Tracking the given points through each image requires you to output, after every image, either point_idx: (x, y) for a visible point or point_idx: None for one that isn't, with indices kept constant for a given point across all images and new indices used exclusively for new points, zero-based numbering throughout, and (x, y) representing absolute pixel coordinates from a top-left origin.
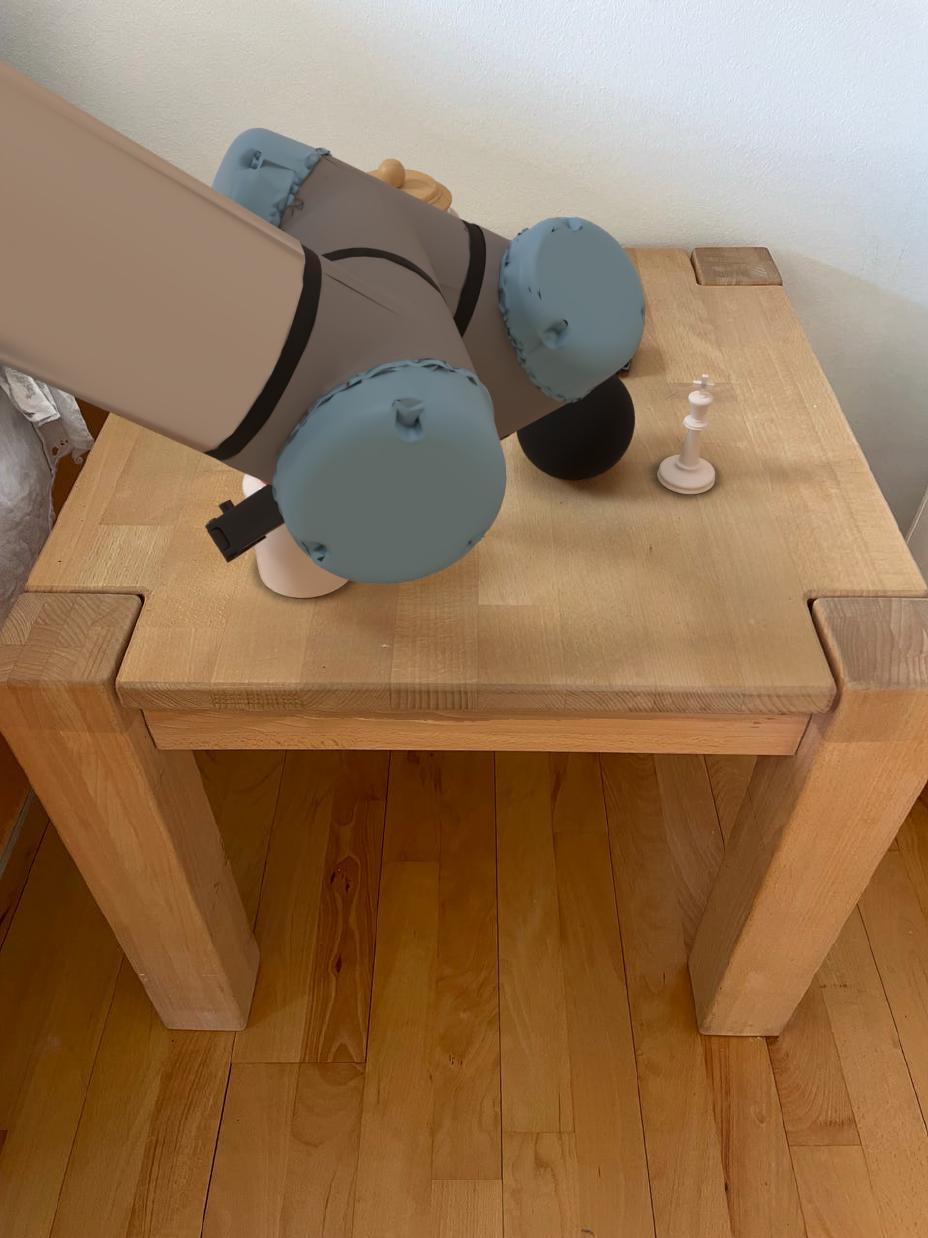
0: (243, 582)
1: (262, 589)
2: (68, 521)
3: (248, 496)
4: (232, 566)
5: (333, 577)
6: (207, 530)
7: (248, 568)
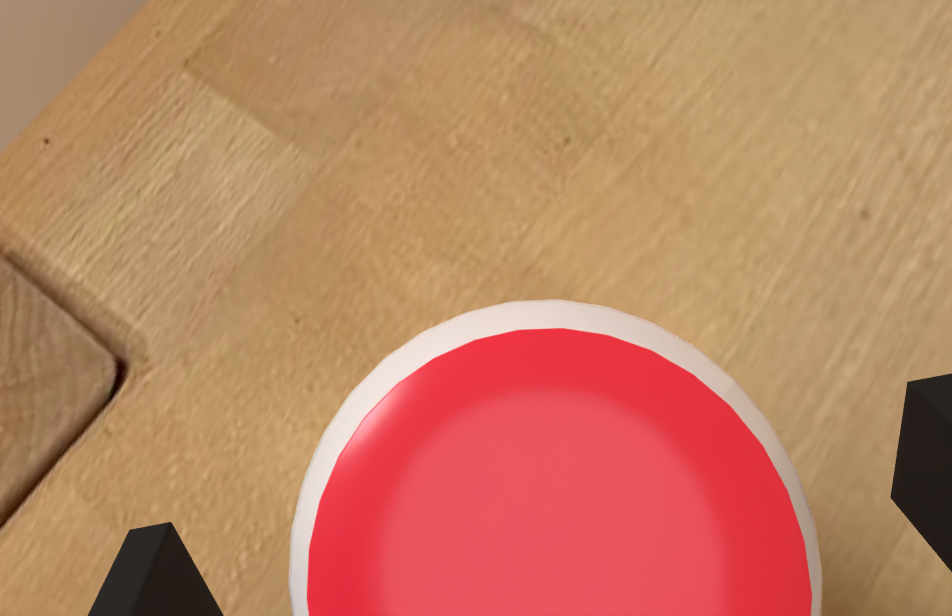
0: None
1: None
2: (133, 19)
3: (291, 550)
4: None
5: None
6: (126, 537)
7: None
